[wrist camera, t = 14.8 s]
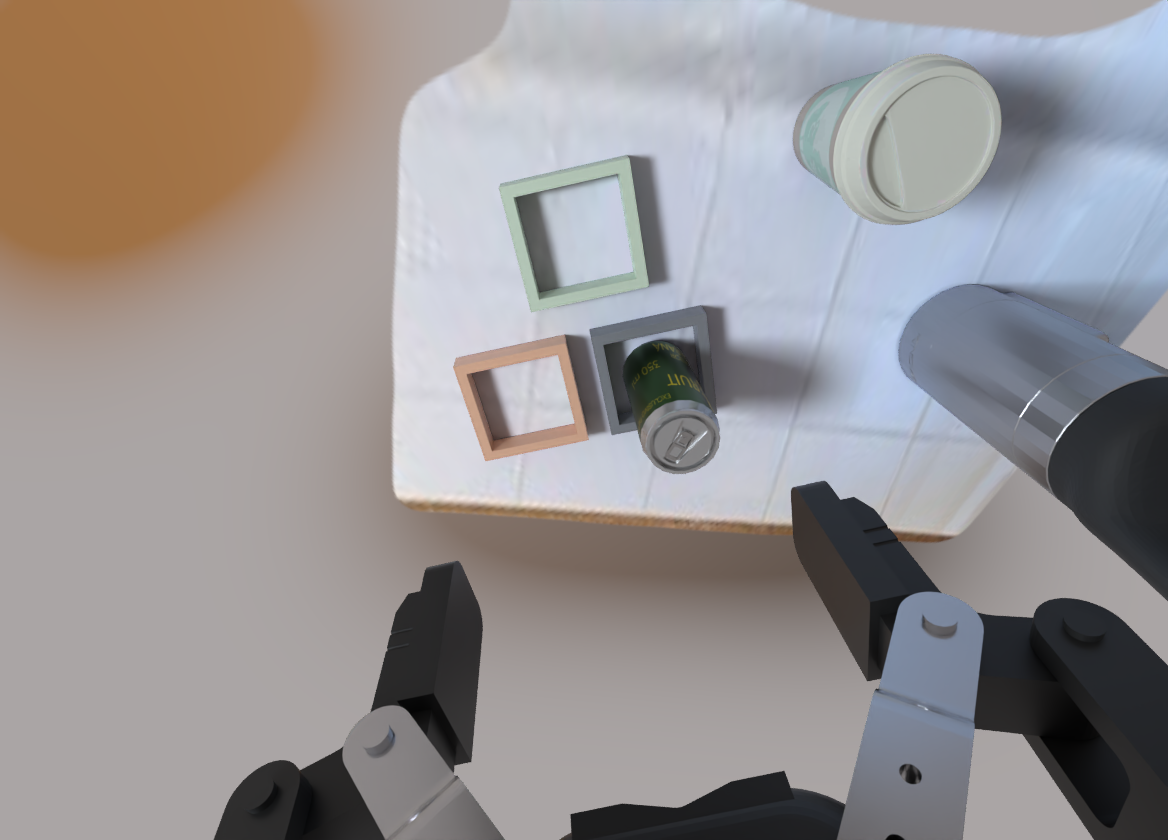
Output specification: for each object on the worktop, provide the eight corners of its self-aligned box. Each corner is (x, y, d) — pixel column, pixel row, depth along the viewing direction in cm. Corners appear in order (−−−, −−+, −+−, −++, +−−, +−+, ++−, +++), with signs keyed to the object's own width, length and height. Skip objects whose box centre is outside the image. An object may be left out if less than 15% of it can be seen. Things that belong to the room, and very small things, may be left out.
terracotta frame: (565, 334, 48) (565, 343, 46) (587, 429, 52) (588, 439, 51) (456, 358, 48) (453, 367, 47) (487, 450, 53) (485, 461, 51)
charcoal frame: (700, 305, 48) (706, 313, 46) (711, 403, 52) (717, 413, 50) (589, 329, 48) (591, 337, 46) (609, 424, 52) (611, 435, 51)
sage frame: (626, 155, 42) (629, 157, 40) (645, 279, 46) (649, 286, 45) (500, 183, 42) (498, 187, 41) (531, 304, 47) (531, 312, 45)
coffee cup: (793, 50, 39) (884, 39, 29) (914, 70, 40) (1044, 66, 30) (758, 188, 43) (826, 221, 33) (869, 203, 44) (969, 240, 34)
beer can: (664, 406, 52) (694, 487, 41) (609, 380, 50) (627, 458, 40) (698, 354, 50) (739, 427, 39) (642, 326, 48) (670, 394, 38)
